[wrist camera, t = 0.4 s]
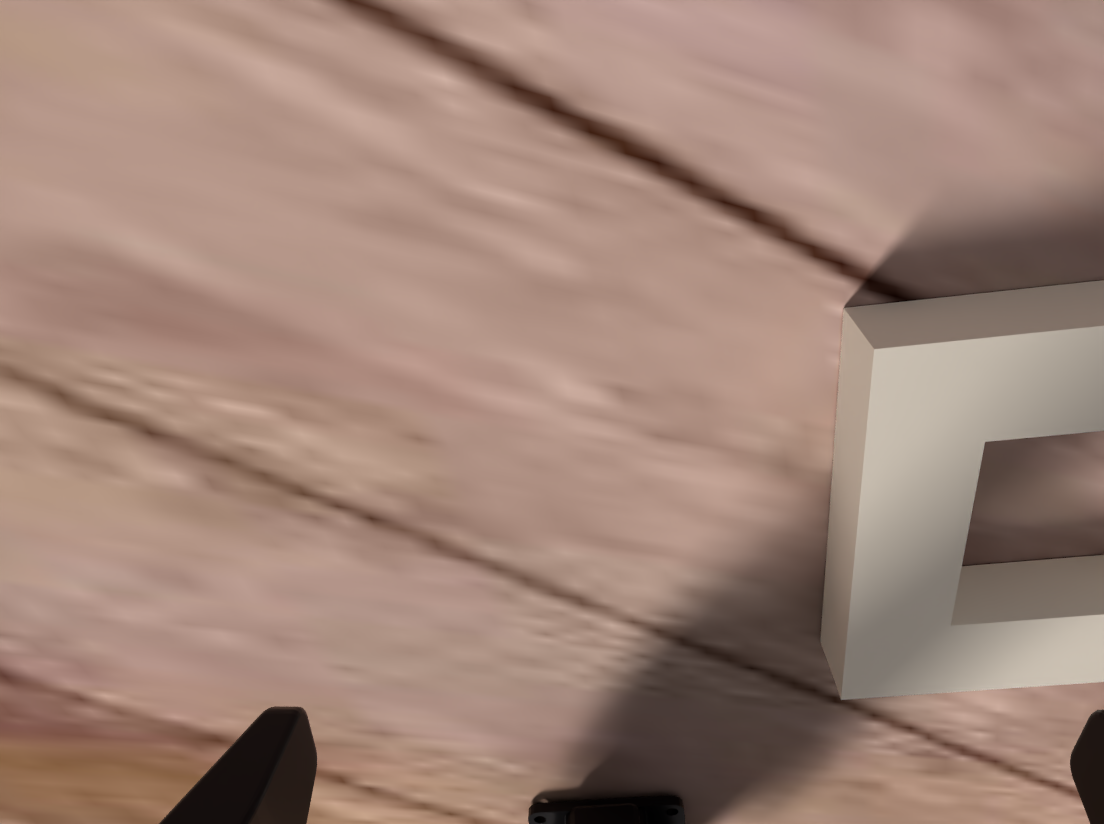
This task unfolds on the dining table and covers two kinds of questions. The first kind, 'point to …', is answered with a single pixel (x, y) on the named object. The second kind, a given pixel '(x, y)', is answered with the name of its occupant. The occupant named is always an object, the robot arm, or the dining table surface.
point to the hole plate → (956, 494)
